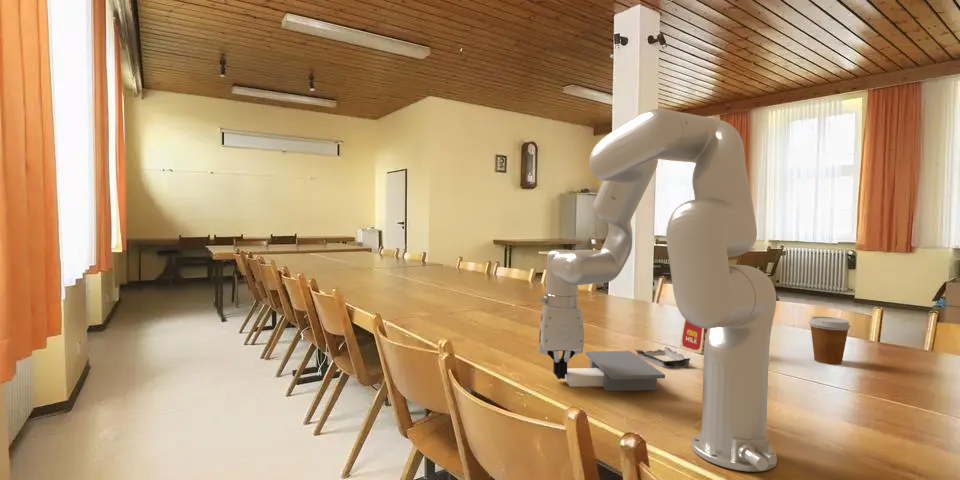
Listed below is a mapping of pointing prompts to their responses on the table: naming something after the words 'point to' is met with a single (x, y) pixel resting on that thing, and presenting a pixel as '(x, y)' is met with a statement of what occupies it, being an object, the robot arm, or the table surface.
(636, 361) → the grey flat-topped block
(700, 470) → the table surface
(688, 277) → the robot arm
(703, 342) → the milk carton
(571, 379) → the white rectangular block
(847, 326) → the disposable coffee cup
